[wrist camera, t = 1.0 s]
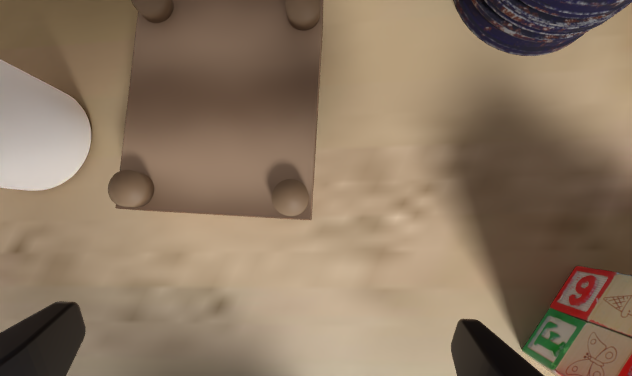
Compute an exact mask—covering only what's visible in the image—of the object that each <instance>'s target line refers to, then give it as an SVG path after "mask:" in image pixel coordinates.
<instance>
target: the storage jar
mask: <svg viewBox="0 0 632 376" xmlns="http://www.w3.org/2000/svg"><path fill="white" fill-rule="evenodd" d="M454 3H455V6H456V9H457V11H458V13H459V15H460V17H461V18H462V20H463V22H464V23H465V24H466V25H467V27H468V28H469V29H470V30H471V31H472V32H473V33H474V34H475V35H476V36H477V37H478V38H479V39H481V40H482V41H484V42H485V43H487V44H488V45H490V46H492V47H494V48H496V49H498V50H501V51H504V52H507V53H510V54H516V55H521V56H536V55H544V54H548V53H552V52H555V51H558V50H560V49H562V48H564V47H566V46H568V45H569V44H571V43H572V42H574V41H575V40H577V39H578V38H579V37H581V36H582V35H583V34H584V33H586V32H588V31H589V30H590V29H592V28H594V27H597V26H599V25H601V24H602V23H604V22H605V21H607V20H608V19H610V18H611V17H612V16H614V15H615V14H617V13H618V12H620V11H621V10H622V9H624V8H625V7H627V6H628V5H629V4H630V3H632V0H454Z"/></svg>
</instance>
